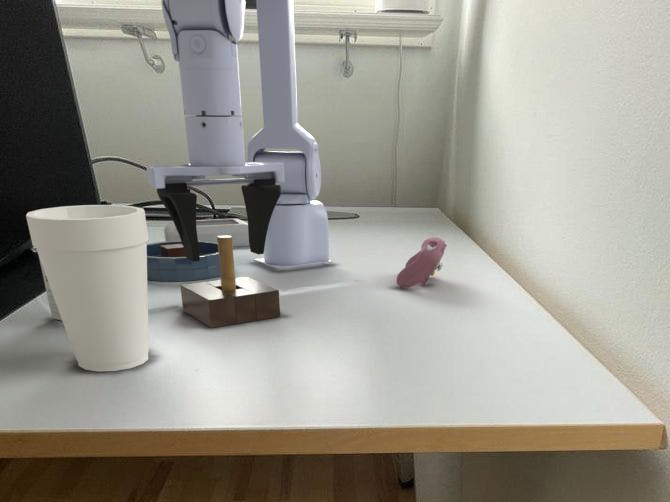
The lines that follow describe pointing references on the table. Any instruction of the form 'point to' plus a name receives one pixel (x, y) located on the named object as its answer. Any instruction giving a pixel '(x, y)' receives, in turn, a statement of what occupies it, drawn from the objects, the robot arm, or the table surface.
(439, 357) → the table surface
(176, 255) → the walnut block
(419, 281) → the pink rounded piece
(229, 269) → the stirring stick
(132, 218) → the foam cup
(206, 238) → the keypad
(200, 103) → the robot arm
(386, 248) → the table surface
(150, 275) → the bowl
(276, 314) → the stick stand
